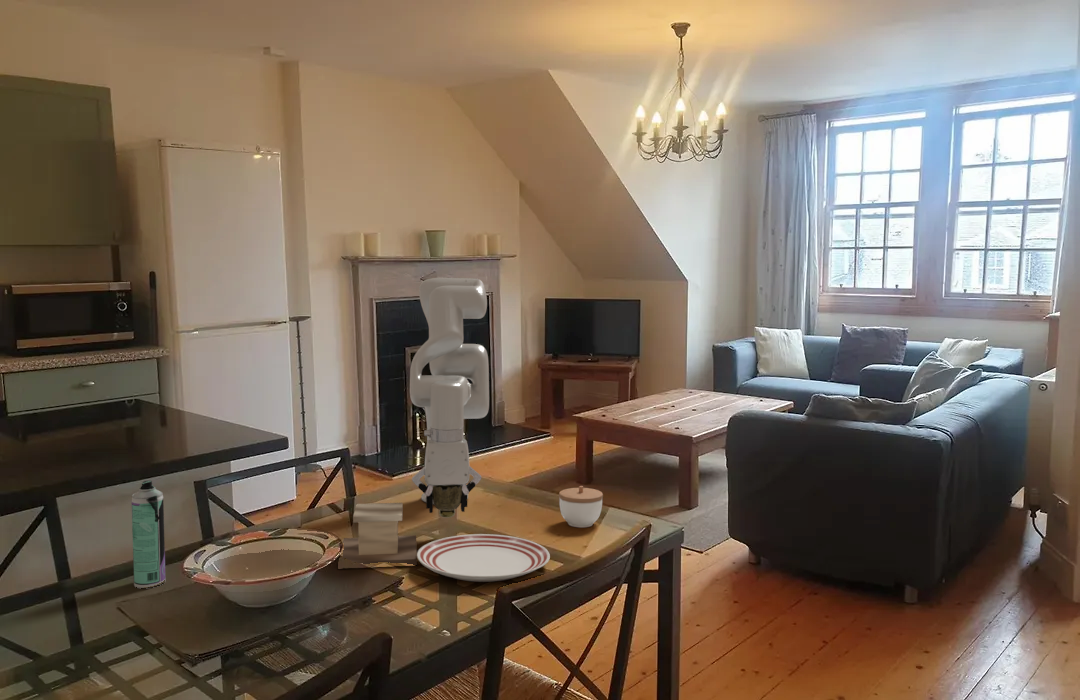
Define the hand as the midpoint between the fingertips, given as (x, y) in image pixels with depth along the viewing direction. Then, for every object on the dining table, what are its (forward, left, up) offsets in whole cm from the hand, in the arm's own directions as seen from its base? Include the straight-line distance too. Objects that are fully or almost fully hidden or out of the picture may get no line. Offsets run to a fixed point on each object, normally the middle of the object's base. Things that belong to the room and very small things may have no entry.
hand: (446, 510), depth 185 cm
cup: (0, 0, -2) cm, 2 cm away
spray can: (+22, -58, -6) cm, 62 cm away
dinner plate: (+21, +7, -7) cm, 23 cm away
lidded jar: (-6, +33, -6) cm, 34 cm away
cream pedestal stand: (+11, -15, -6) cm, 20 cm away
